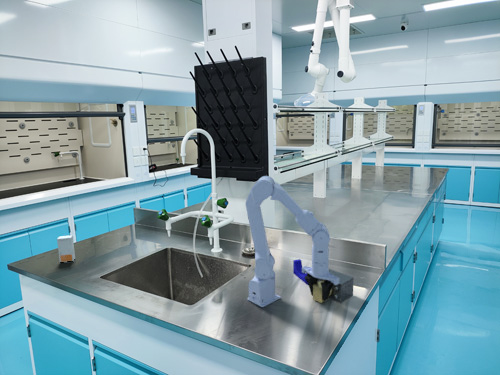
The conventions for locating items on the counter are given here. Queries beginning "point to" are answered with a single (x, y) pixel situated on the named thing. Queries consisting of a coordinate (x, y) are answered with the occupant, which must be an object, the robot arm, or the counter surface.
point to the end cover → (319, 292)
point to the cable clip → (299, 270)
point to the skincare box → (66, 248)
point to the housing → (341, 287)
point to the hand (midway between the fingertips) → (319, 297)
